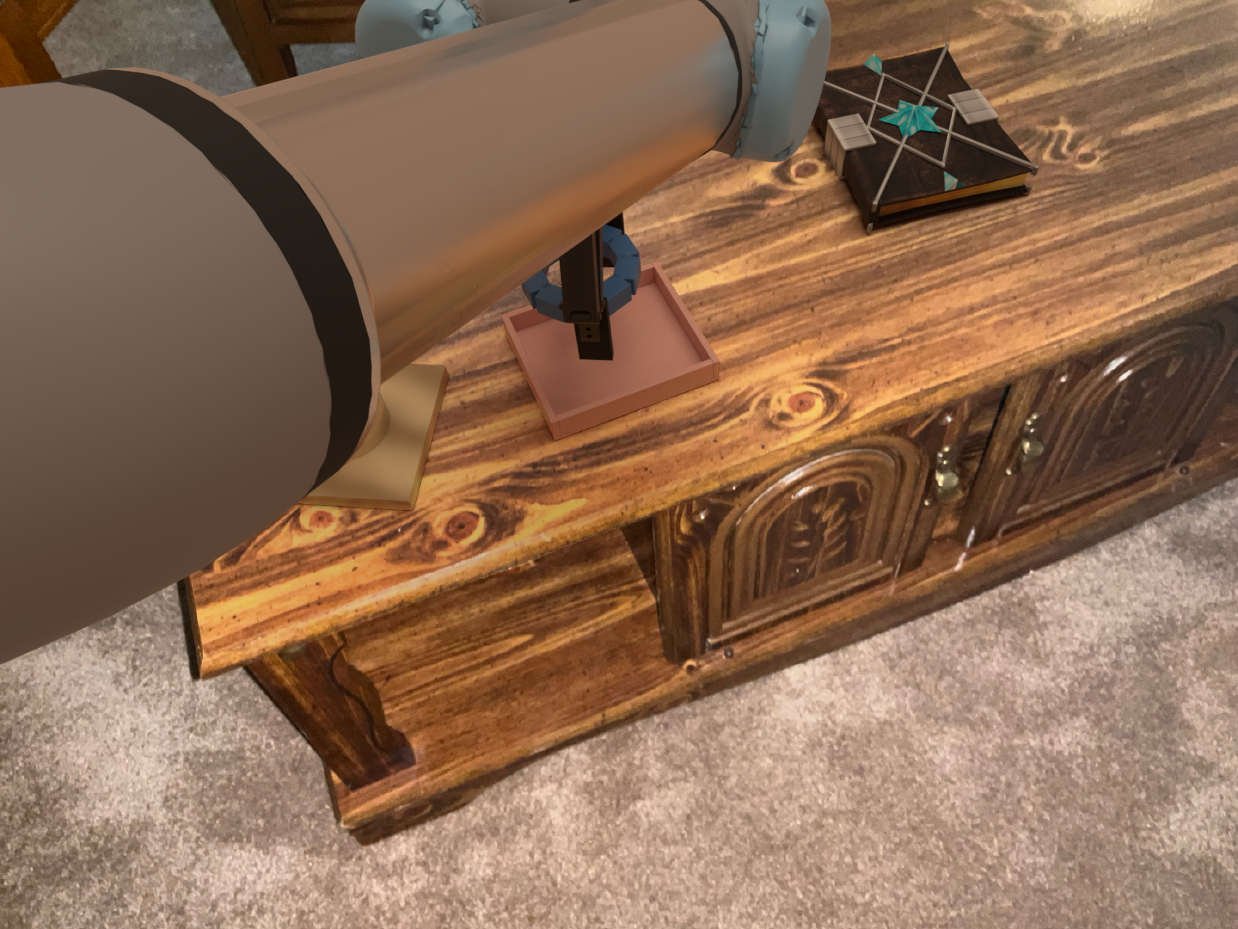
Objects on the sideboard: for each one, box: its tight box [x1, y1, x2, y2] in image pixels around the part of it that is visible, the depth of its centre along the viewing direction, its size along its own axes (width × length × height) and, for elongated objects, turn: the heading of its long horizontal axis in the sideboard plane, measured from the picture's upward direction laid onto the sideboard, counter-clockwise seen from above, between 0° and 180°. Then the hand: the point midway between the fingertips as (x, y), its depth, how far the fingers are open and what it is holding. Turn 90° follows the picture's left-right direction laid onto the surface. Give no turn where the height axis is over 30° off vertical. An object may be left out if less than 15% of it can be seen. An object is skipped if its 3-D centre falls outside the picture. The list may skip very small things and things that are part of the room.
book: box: [812, 41, 1040, 234], centre depth 95 cm, size 22×17×5 cm
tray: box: [500, 260, 721, 441], centre depth 84 cm, size 15×13×2 cm
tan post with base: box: [297, 363, 450, 511], centre depth 70 cm, size 14×14×30 cm
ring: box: [520, 225, 642, 323], centre depth 77 cm, size 9×10×2 cm
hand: (604, 308), depth 80 cm, fingers closed on ring, 10 cm apart
